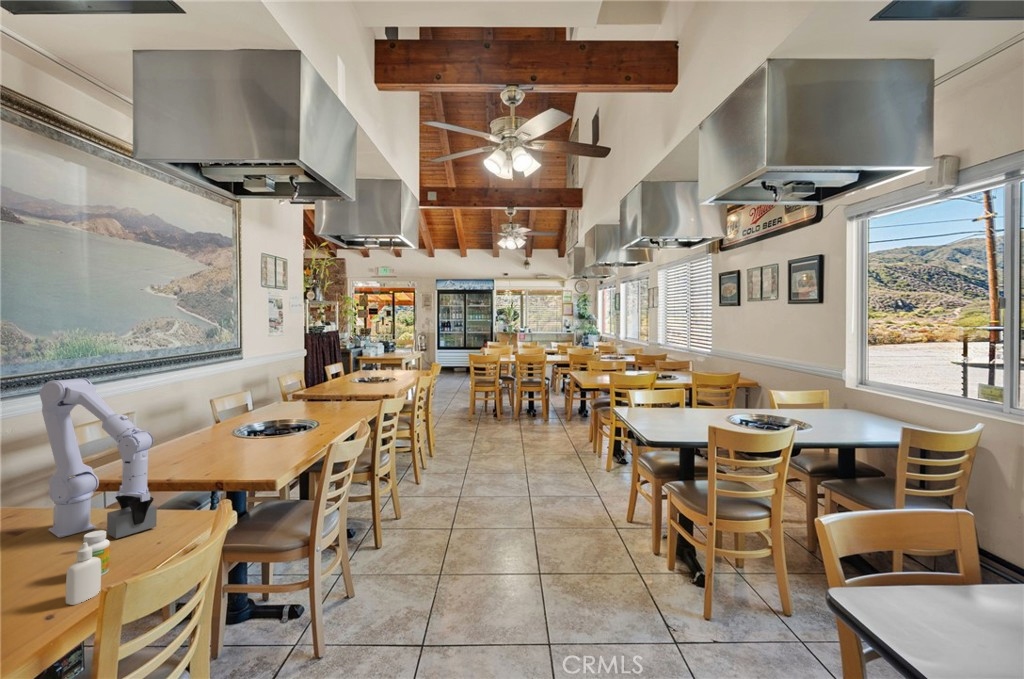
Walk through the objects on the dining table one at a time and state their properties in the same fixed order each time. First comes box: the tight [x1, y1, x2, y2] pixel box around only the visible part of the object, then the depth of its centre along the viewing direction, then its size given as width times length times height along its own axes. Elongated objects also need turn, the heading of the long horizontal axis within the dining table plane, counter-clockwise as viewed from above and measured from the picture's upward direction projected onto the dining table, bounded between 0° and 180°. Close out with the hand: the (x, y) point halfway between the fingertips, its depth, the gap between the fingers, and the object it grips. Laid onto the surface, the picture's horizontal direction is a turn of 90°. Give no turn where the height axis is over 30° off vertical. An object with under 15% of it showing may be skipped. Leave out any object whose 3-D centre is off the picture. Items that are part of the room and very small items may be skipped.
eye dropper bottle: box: [65, 542, 102, 606], centre depth 98 cm, size 4×6×12 cm
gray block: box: [106, 503, 158, 539], centre depth 131 cm, size 6×10×6 cm, turn 150°
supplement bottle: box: [79, 530, 111, 577], centre depth 108 cm, size 5×5×10 cm
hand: (133, 521), depth 132 cm, fingers closed on gray block, 6 cm apart
